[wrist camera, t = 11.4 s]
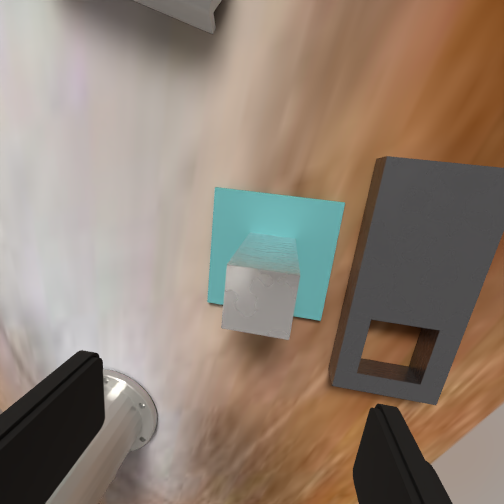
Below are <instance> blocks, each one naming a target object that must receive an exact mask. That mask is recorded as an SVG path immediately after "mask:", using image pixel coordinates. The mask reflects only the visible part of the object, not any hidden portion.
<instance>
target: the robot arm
mask: <svg viewBox="0 0 504 504" xmlns="http://www.w3.org/2000/svg"><path fill="white" fill-rule="evenodd" d="M156 424H157V413H156V409H155V406H154V404H153V402H152V400H151V398H150V397H149V395H148V394H147V392H146V391H145V390H144V389H143V388H142V387H141V386H140V385H139V384H138V383H136V382H135V381H134V380H132V379H131V378H129V377H127V376H126V375H123V374H121V373H118V372H115V371H111V370H105V369H103V361H102V359H101V358H99V355H98V353H94V352H88V351H83V350H82V351H79V352H77V353H76V354H74V355H73V356H72V357H71V358H69V359H68V360H67V361H66V362H65V363H63V364H62V365H61V366H60V367H58V368H57V369H56V370H55V371H54V372H52V373H51V374H50V375H49V376H47V377H46V378H45V379H44V380H42V381H41V382H40V383H39V384H38V385H36V386H35V387H34V388H33V389H31V390H30V391H29V392H28V393H26V394H25V395H24V396H23V397H22V398H20V399H19V400H18V401H17V402H15V403H14V404H13V405H12V406H10V407H9V408H8V409H7V410H6V411H4V412H3V413H2V414H1V415H0V504H99V502H100V500H101V498H102V497H103V495H104V493H105V492H106V490H107V488H108V487H109V485H110V483H111V481H113V480H114V479H115V477H116V473H117V471H118V469H119V468H120V466H121V464H122V463H123V461H124V459H125V457H126V456H127V454H128V452H130V451H134V450H137V449H139V448H141V447H143V446H144V445H145V444H146V443H147V442H148V441H149V440H150V438H151V437H152V435H153V433H154V431H155V428H156ZM353 480H354V485H355V489H356V493H357V498H358V502H359V504H452V502H451V500H450V498H449V496H448V494H447V492H446V490H445V489H444V487H443V485H442V483H441V481H440V479H439V477H438V475H437V473H436V472H435V470H434V469H433V467H432V465H430V464H429V463H428V462H427V461H425V459H424V457H423V455H422V453H421V451H420V449H419V447H418V445H417V443H416V442H415V440H414V438H413V436H412V434H411V432H410V430H409V428H408V426H407V424H406V422H405V420H404V418H403V416H402V414H401V412H400V411H399V409H398V408H397V407H394V406H388V405H383V404H377V405H376V406H375V408H370V411H369V414H368V418H367V421H366V425H365V428H364V432H363V435H362V439H361V442H360V446H359V449H358V453H357V456H356V460H355V463H354V467H353Z"/></svg>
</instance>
